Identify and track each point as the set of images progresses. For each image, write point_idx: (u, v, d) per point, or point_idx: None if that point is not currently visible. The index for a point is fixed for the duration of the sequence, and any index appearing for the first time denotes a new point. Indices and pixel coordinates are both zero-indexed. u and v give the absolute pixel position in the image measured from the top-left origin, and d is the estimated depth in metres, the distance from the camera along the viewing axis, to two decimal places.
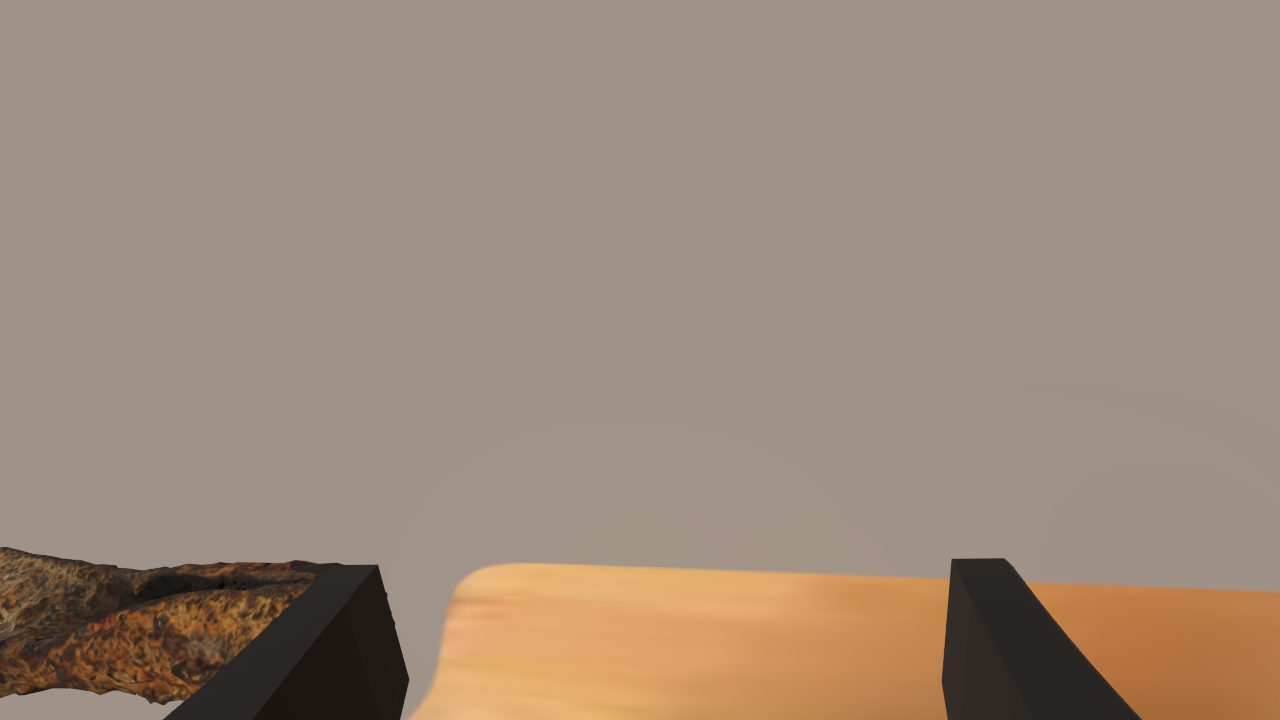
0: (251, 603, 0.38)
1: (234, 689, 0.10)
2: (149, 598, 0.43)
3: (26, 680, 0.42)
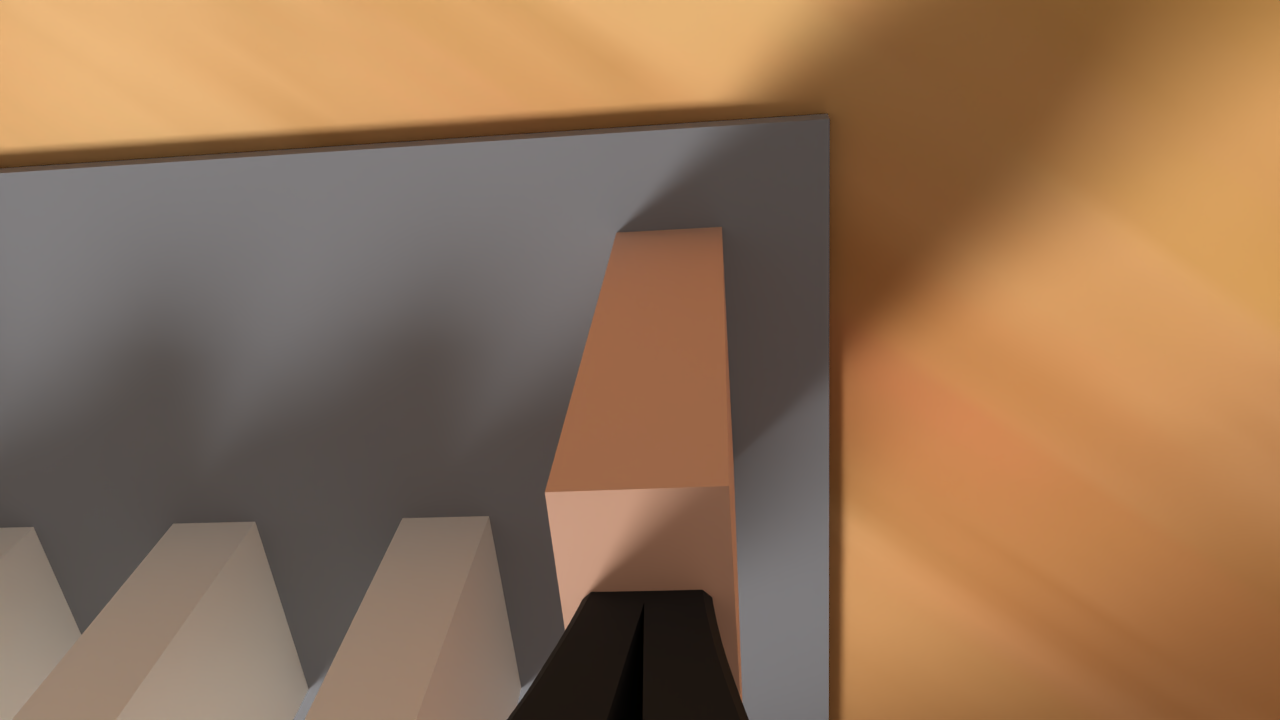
0: None
1: (570, 691, 0.10)
2: None
3: None
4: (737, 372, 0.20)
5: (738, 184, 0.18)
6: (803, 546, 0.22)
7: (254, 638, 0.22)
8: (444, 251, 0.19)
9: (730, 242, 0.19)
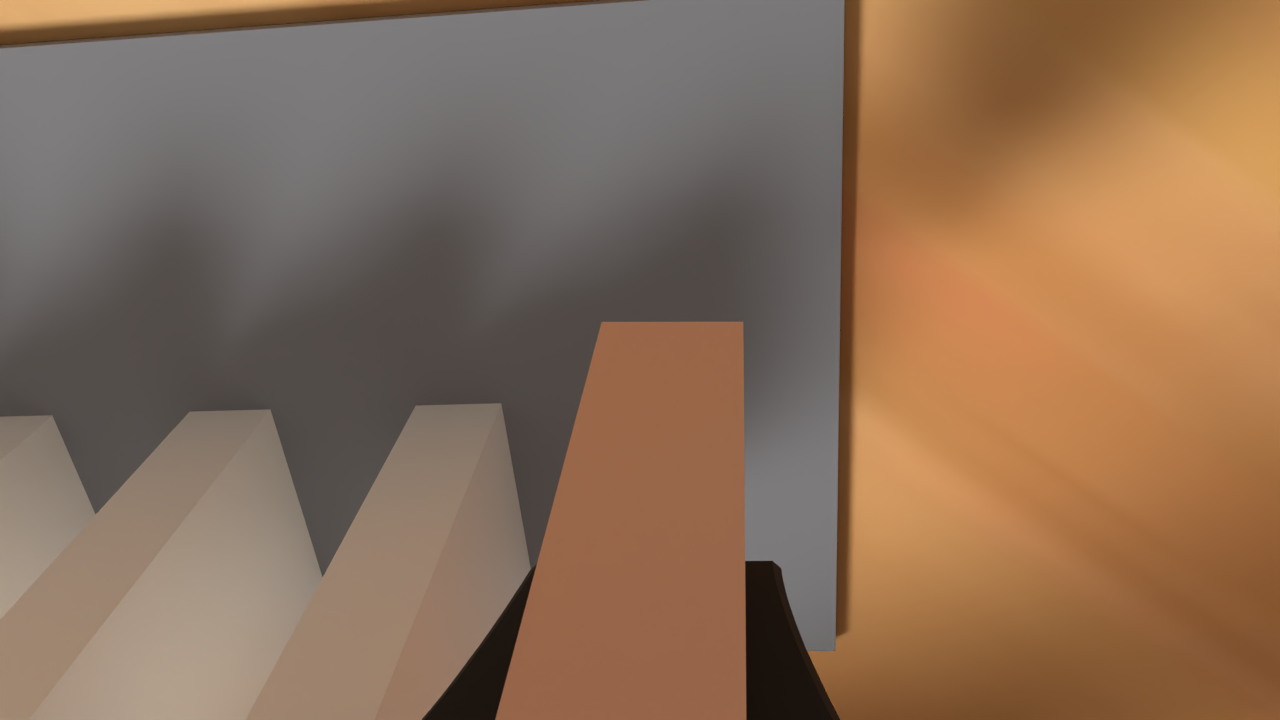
0: None
1: (486, 690, 0.10)
2: None
3: None
4: (749, 253, 0.20)
5: (752, 55, 0.18)
6: (813, 434, 0.22)
7: (270, 523, 0.23)
8: (457, 127, 0.19)
9: (743, 116, 0.19)
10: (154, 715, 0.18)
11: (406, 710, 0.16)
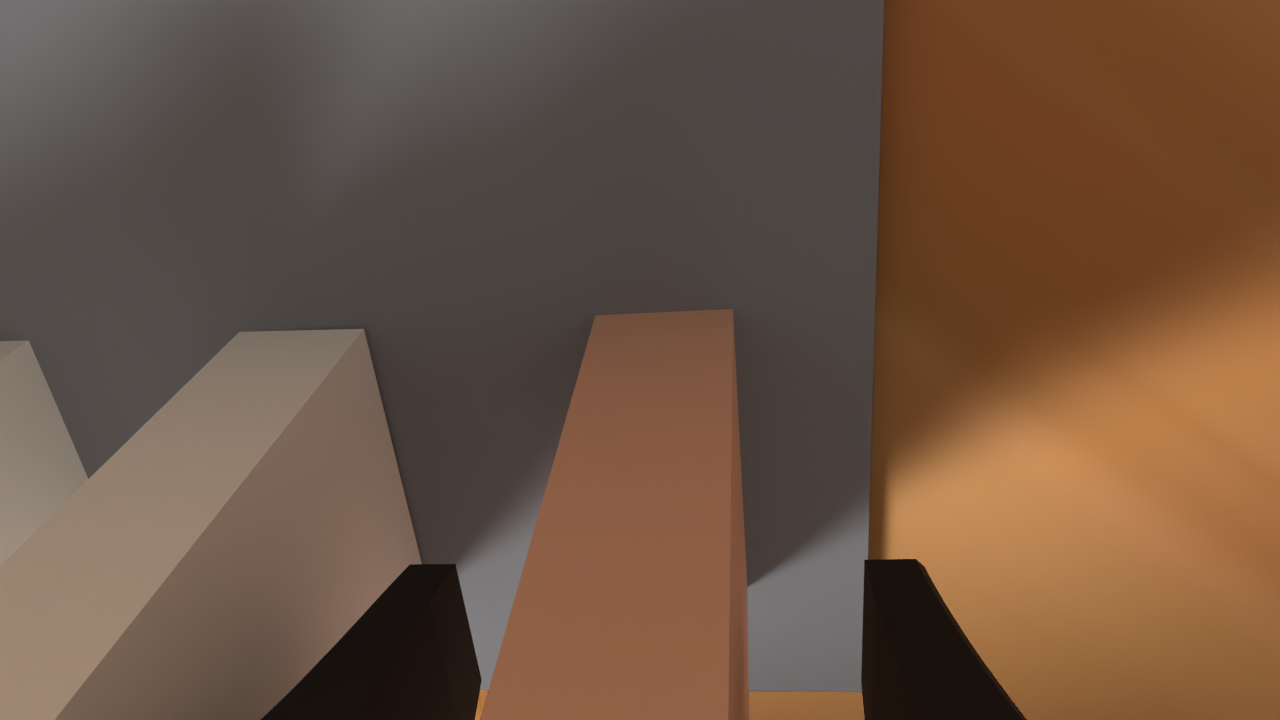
0: None
1: (328, 689, 0.10)
2: None
3: None
4: (735, 71, 0.13)
5: None
6: (834, 370, 0.15)
7: (25, 509, 0.15)
8: None
9: None
10: None
11: None
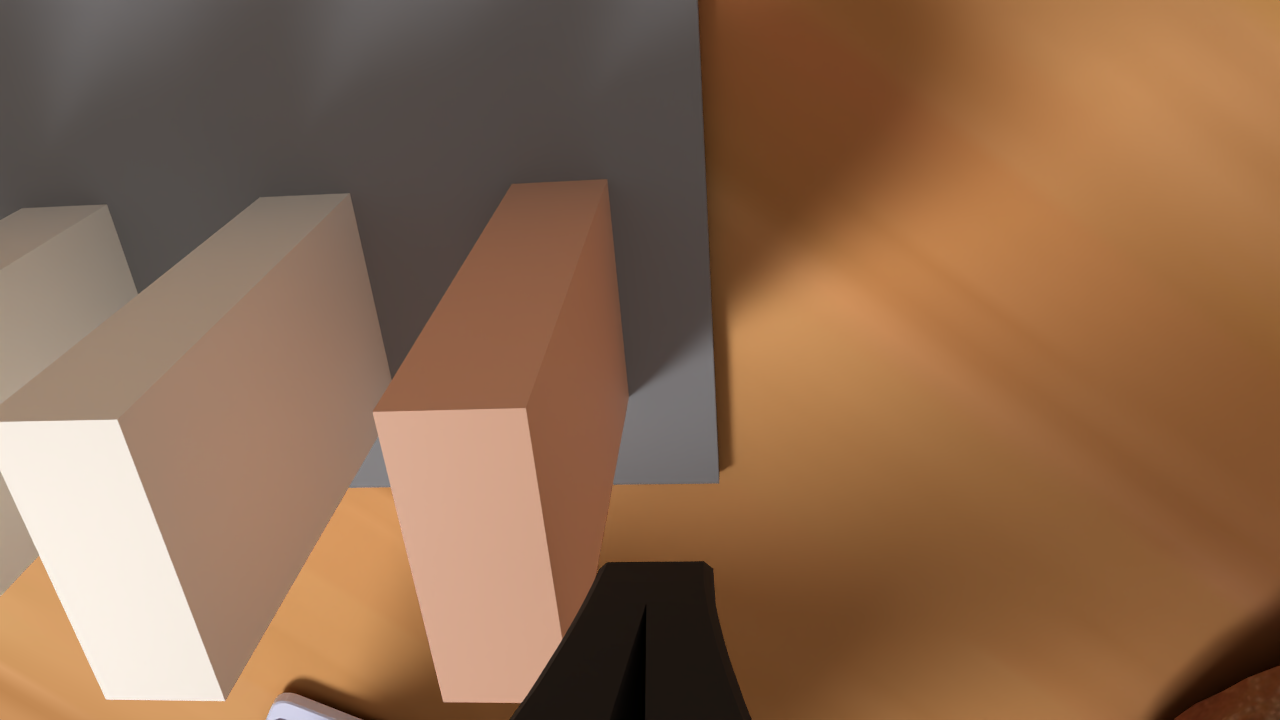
0: None
1: (572, 691, 0.10)
2: None
3: None
4: (600, 8, 0.19)
5: None
6: (680, 225, 0.21)
7: None
8: None
9: None
10: None
11: (179, 434, 0.14)
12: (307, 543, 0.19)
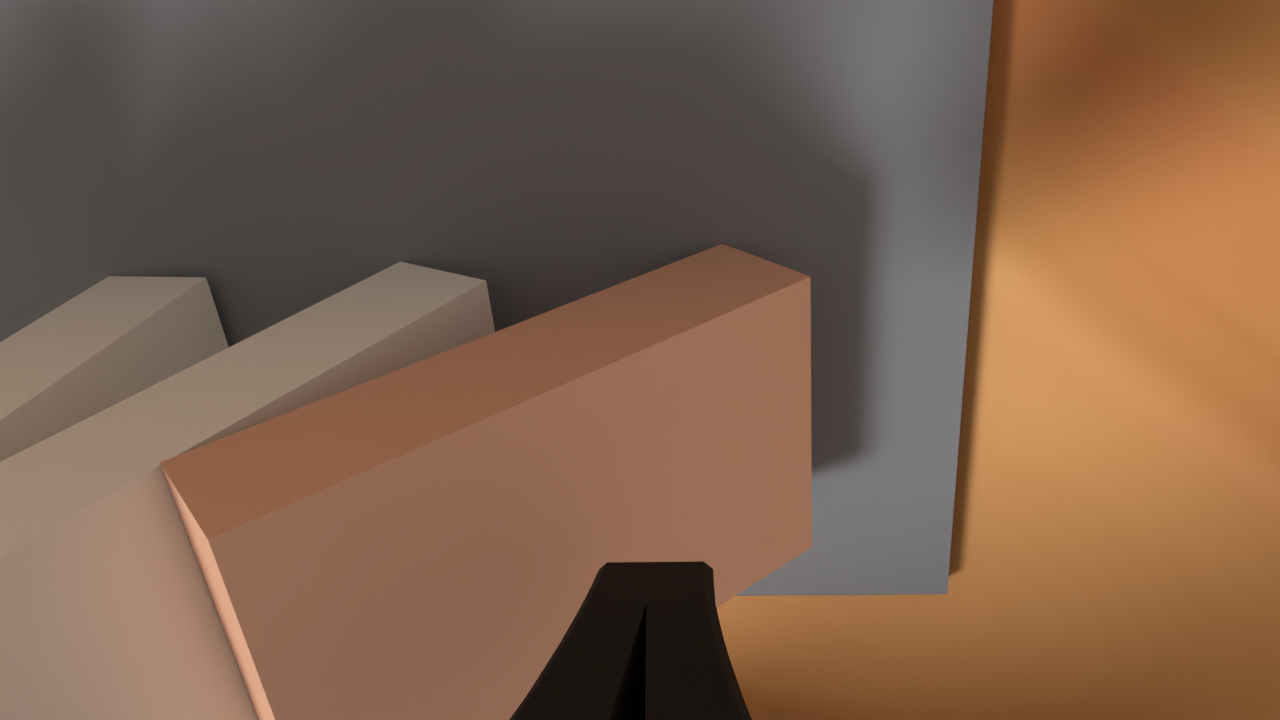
0: None
1: (572, 691, 0.10)
2: None
3: None
4: (863, 23, 0.15)
5: None
6: (936, 292, 0.16)
7: None
8: None
9: None
10: None
11: (17, 632, 0.11)
12: None
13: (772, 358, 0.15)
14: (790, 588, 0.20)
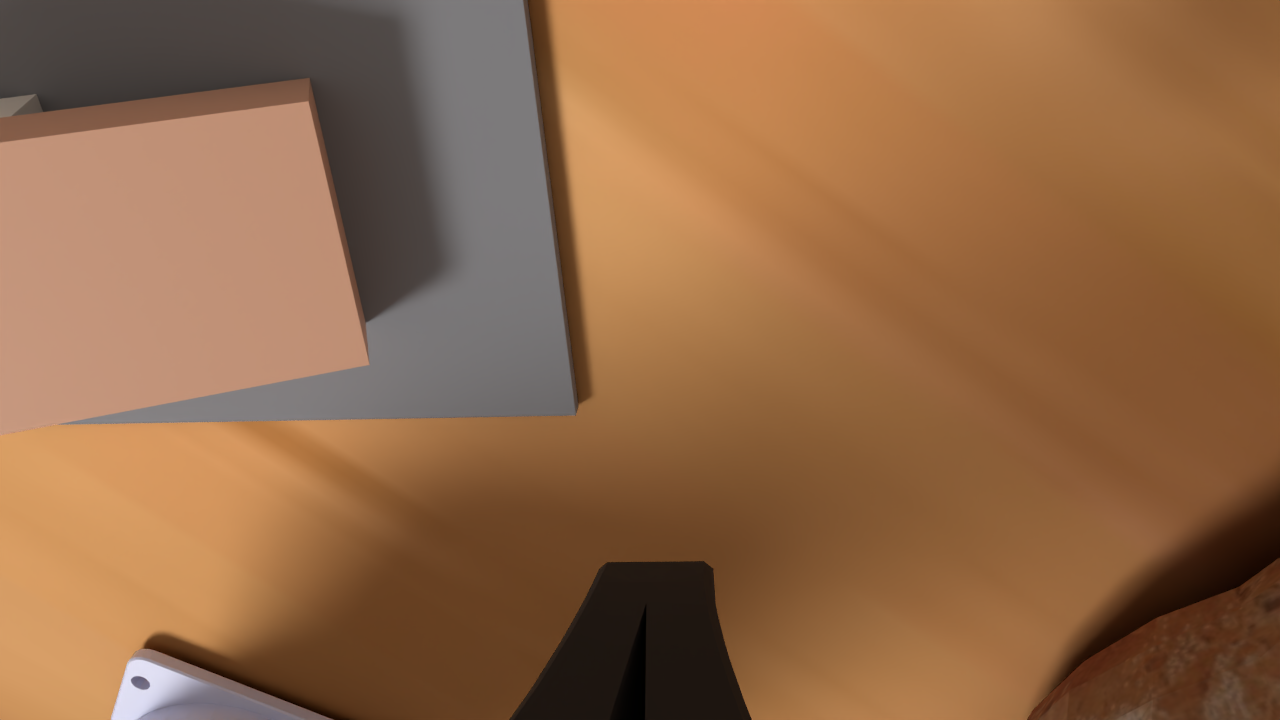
0: None
1: (572, 691, 0.10)
2: None
3: None
4: None
5: None
6: (509, 121, 0.19)
7: None
8: None
9: None
10: None
11: None
12: None
13: (274, 169, 0.17)
14: (440, 410, 0.22)
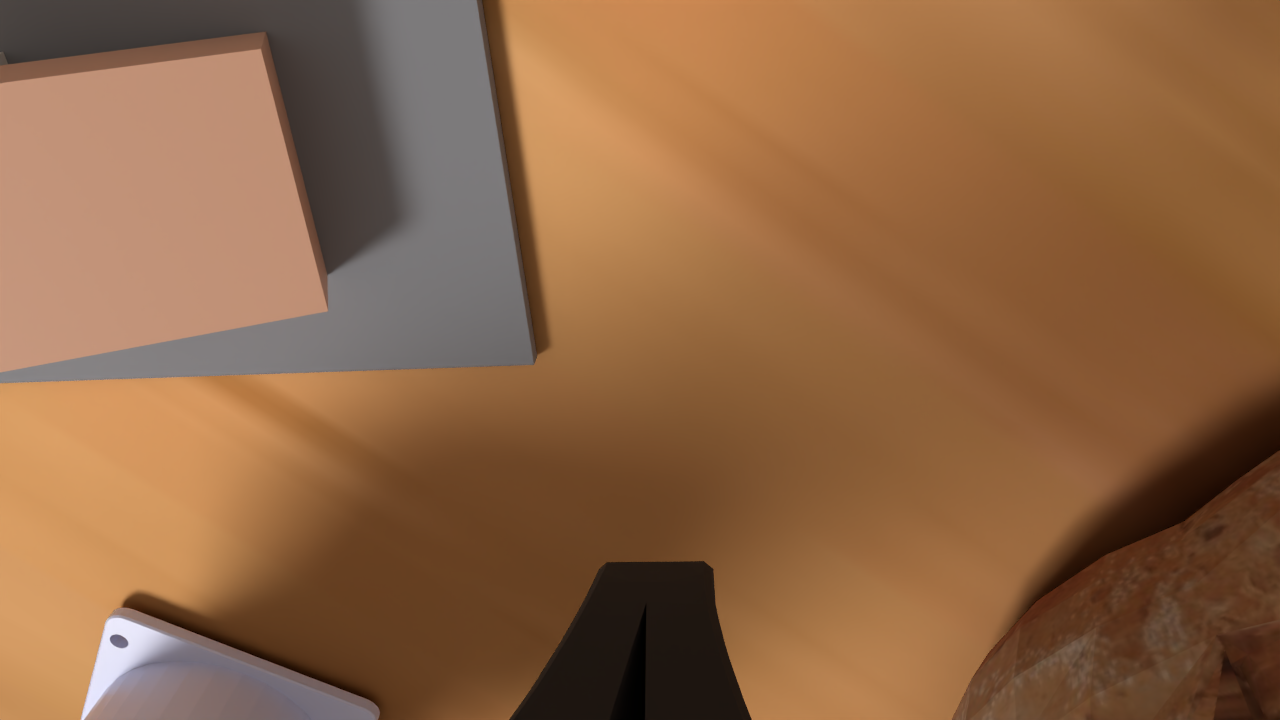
0: None
1: (572, 691, 0.10)
2: None
3: None
4: None
5: None
6: (459, 72, 0.19)
7: None
8: None
9: None
10: None
11: None
12: None
13: (229, 116, 0.18)
14: (402, 362, 0.23)
